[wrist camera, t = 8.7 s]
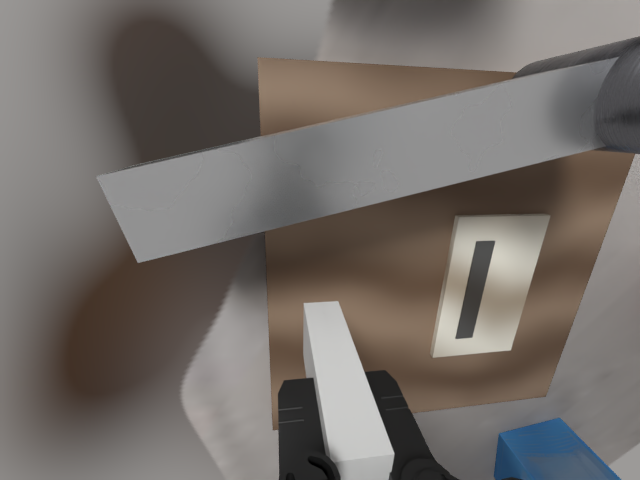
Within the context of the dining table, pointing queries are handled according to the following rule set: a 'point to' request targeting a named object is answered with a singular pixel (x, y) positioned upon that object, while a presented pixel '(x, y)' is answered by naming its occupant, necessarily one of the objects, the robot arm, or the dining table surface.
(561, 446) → the perfume bottle
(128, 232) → the swing bar
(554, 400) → the dining table surface
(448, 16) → the dining table surface
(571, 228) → the label board
